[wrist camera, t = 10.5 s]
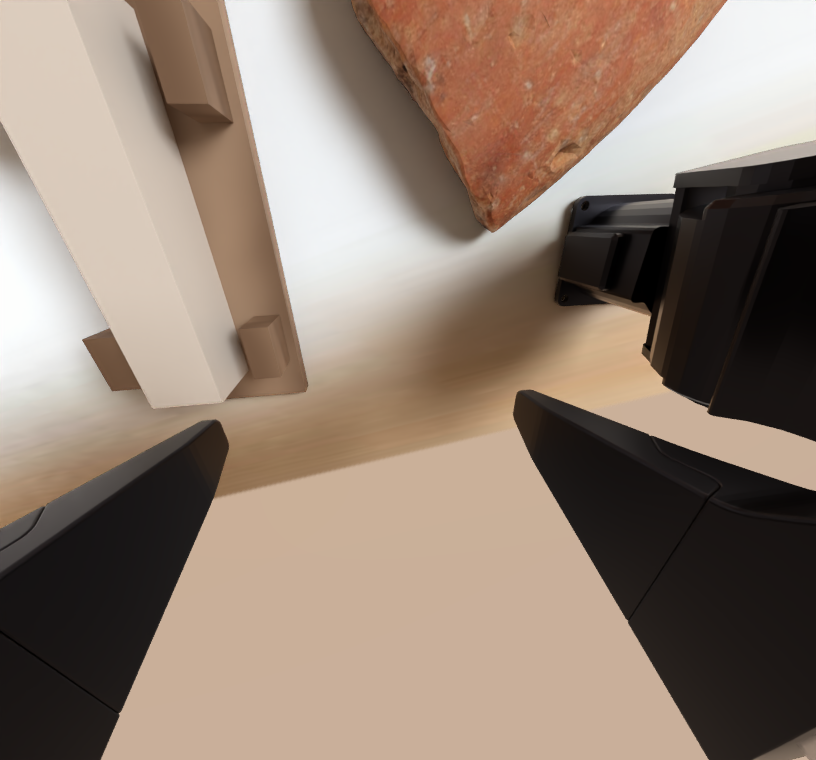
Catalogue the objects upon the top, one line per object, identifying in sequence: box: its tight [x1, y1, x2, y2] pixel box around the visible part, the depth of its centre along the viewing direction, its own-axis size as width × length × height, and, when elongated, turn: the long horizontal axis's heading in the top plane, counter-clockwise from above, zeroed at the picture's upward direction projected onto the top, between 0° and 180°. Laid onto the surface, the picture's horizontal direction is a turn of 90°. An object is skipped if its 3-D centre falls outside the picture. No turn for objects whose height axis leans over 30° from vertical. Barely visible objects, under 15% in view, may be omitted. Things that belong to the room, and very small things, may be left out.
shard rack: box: [82, 0, 308, 399], centre depth 15 cm, size 10×20×4 cm, turn 2°
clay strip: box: [0, 0, 248, 409], centre depth 14 cm, size 4×16×4 cm, turn 2°
